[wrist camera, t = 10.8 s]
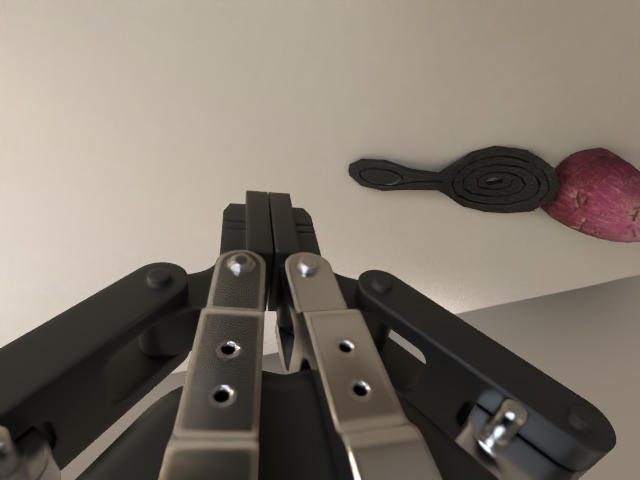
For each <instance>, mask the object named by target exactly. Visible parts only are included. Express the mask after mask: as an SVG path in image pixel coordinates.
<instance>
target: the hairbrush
mask: <svg viewBox="0 0 640 480" xmlns="http://www.w3.org/2000/svg"><path fill="white" fill-rule="evenodd" d="M530 162H531V163H534V164H536V165H537V166H538V167H540V168H541V170H542V171H543V172H542V171H541V170H539V169H538V168H537V167H535V166H534V165H533V164H531V163H530ZM520 166H522V167H524V168H526V169H528V170H530V171H531V172H532V173H533V174H534V175H535V177H536V178H535V177H534V176H533V175H532V174H531V173H530V172H528V171H527V170H526V169H524V168H522V167H520ZM359 171H360V174H361V175H359ZM555 172H556V171H555V170H554V168H553V167H552V166H550V165H549V164H548V163H546V162H545V161H544V160H543V159H541V158H540V157H538V156H536V155H534V154H532V153H531V152H529V151H527V150H522V149H516V148H507V147H499V146H493V147H489V148H485V149H481V150H477V151H474V152H471V153H470V154H468V155H466V156H465V157H463V158H461V159H460V160H458V161H457V162H455V163H453V164H452V165H450V166H448V167H447V168H445V169H443V170H442V171H440V172H439V173H438V172H430V171H423V170H416V169H410V168H407V167H404V166H401V165H399V164H396V163H393V162H390V161H387V160H375V159H361V160H358V161H356V162H354V163H352V164H350V166H349V173H350V174H349V175H350V176H351V177H352V178H353V179H354V180H356V181H357V182H358V183H359V184H360V185H361V186H365V187H369V188H373V189H377V190H381V191H390V190H438V191H440V192H442V193H444V194H446V195H447V196H449V197H450V198H451V199H453V200H454V201H456V202H457V203H459V204H460V205H462V206H464V207H468V208H472V209H476V210H480V211H484V212H496V213H515V212H529V211H535V210H534V209H536V208H538V207H539V208H541V207H540V206H542V205H544V206H545V204H546V203H548V202H550V201H552V200H553V198H554V197H557V196H555V193H556V191H557V189H558V187H559V182H558V179H557V177H558V176H556V175H557V174H556V173H555ZM513 173H514V174H513ZM543 173H544V174H543ZM400 174H401V175H400ZM515 174H516V175H515ZM517 175H519V176H521V178H522V181H521V179H520V178H519V177H518V176H517ZM544 175H545V176H544ZM492 177H496V178H500V179H499V181H490V182H488V181H487V182H486V181H485V180H487V179H489V178H492ZM545 178H546V179H545ZM536 179H537V180H536ZM489 180H491V179H489ZM546 180H547V181H546ZM537 182H538V183H537ZM477 184H478V185H477ZM560 184H561V182H560ZM463 186H464V187H465V188H466V189H468V190H466V189H463ZM560 187H561V186H560ZM452 188H453V189H454V190H455V192H456V193H457V194H456V193H455V192H454V191H453V190H452ZM559 189H560V188H559ZM553 201H555V200H553ZM548 206H549V205H548ZM548 206H547V207H548Z"/></svg>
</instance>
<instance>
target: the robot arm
mask: <svg viewBox="0 0 640 480" xmlns="http://www.w3.org/2000/svg"><path fill="white" fill-rule="evenodd" d="M267 303H268V311H276V313H277V321H276V327H275V333H276V339H277V344H278V350H279V355H280V361H281V367H282V372H283V374H276V373H272V372H267V371H262V356H263V336H264V311H266V306H267ZM391 329H392V330H393V331H395V332H396V333H398V334H399V335H400V336H402V337H403V338H405V339H406V340H407V341H408V342H410V343H411V344H413V345H414V346H415V347H417V348H418V349H419V350H420V351H421V352H422V353H423V355H424V356H425V359H426V364H424V363H423V362H421V361H420V360H419V359H417V358H416V357H415V356H413V355H412V354H410V353H409V352H408V351H406V350H405V349H404V348H403V347H401V346H400V345H399V344H397V343H396V342H395V341H393V340H392V339H391V338H389V337H388V336H389V333H390V330H391ZM190 351H192V352H191V356H190V361H189V365H188V369H187V374H186V378H185V383H184V386H181V387H179V388H177V389H175V390H173V391H171V392H169V393H168V394H166V395H165V396H163V397H161V398H160V399H159V400H158V401H157V402H155V403H154V404H152V405H151V406H150V407H149V408H148V409H147V410H146V411H145V412H143V414H142V415H140V416H139V418H137V419H136V420H135V421H134V422H133V423H132V424H131V425H130V426H129V427H128V428H127V430H125V431H124V432H123V433H122V434H121V435H120V436H119V437H118V438H117V439H116V440H115V441H114V442H113V443H112V444H111V445H110V446H109V447H108V448H107V449H106V450H105V451H104V452H103V453H102V454H101V455H100V456H99V457H98V458H97V459H96V460H95V461H94V462H93V463H92V464H91V465H90V466H89V467H88V468H87V469H86V470H85V471H84V472H83V473H82V474H81V475H79V476H78V477H77V478H76V479H75V480H578V479H579V478H580V477H581V476H582V475H584V473H586V472H587V471H588V470H589V469H590V468H591V467H592V466H594V465H595V464H596V463H597V462H598V461H599V460H600V459H602V458H603V457H604V456H605V455H606V454H607V453H608V452H609V451H611V450H612V449H613V448H614V446H615V444H616V435H615V432H614V429H613V427H612V425H611V424H610V422H609V421H608V419H607V418H606V417H605V416H604V415H603V413H602V412H600V410H598V409H597V408H596V407H595V406H593V405H592V404H591V403H590V402H588V401H587V400H585V399H584V398H582V397H580V396H579V395H577V394H576V393H574V392H573V391H571V390H570V389H568V388H567V387H565V386H563V385H562V384H560V383H559V382H557V381H556V380H554V379H553V378H551V377H550V376H548V375H546V374H545V373H543V372H542V371H540V370H539V369H537V368H536V367H534V366H533V365H531V364H530V363H528V362H526V361H525V360H523V359H522V358H520V357H519V356H517V355H516V354H514V353H513V352H511V351H509V350H508V349H506V348H505V347H503V346H502V345H500V344H499V343H497V342H496V341H494V340H492V339H491V338H489V337H488V336H486V335H485V334H483V333H482V332H480V331H478V330H477V329H476V328H474V327H472V326H471V325H469V324H468V323H466V322H464V321H463V320H462V319H460V318H459V317H457V316H455V315H454V314H452V313H451V312H449V311H448V310H446V309H445V308H443V307H442V306H440V305H438V304H437V303H435V302H434V301H432V300H431V299H429V298H428V297H426V296H425V295H423V294H421V293H420V292H418V291H417V290H415V289H414V288H412V287H411V286H409V285H408V284H406V283H404V282H403V281H401V280H400V279H398V278H397V277H395V276H394V275H392V274H390V273H387V272H384V271H380V270H369V271H366V272H364V273H362V274H361V275H360V276H359V279H358V280H355V279H352V278H348V277H344V276H341V275H338V274H336V273H334V272H333V270H332V268H331V265H330V264H329V262H328V261H327V260H326V259H324V258H323V257H321V254H320V250H319V246H318V242H317V238H316V234H315V230H314V227H313V223H312V219H311V216H310V215H309V214H308V213H307V212H306V211H305V210H304V209H303V208H293V207H292V204H291V199H290V194H287V193H274V192H269V193H267V192H260V191H246V203H245V204H232V203H230V205H229V206H228V207H227V208H226V209H225V210H224V212H223V224H222V236H221V248H220V256H219V257H218V259H217V261H216V264H215V265H214V266H212V267H211V268H209V269H207V270H205V271H202V272H198V273H193V274H188V275H187V273H186V271H185V270H184V269H183V268H182V267H180V266H178V265H176V264H172V263H165V262H160V263H152V264H148V265H146V266H143V267H141V268H139V269H138V270H136V271H134V272H132V273H131V274H129V275H127V276H125V277H124V278H122V279H120V280H118V281H117V282H115V283H113V284H112V285H110V286H108V287H106V288H105V289H103V290H101V291H99V292H98V293H96V294H94V295H92V296H91V297H89V298H87V299H85V300H84V301H82V302H80V303H79V304H77V305H75V306H73V307H72V308H70V309H68V310H66V311H65V312H63V313H61V314H59V315H58V316H56V317H54V318H52V319H51V320H49V321H47V322H46V323H44V324H42V325H40V326H39V327H37V328H35V329H33V330H32V331H30V332H28V333H26V334H25V335H23V336H21V337H19V338H18V339H16V340H14V341H13V342H11V343H9V344H7V345H6V346H4V347H2V348H0V480H61V473H60V471H61V470H62V469H63V468H64V467H66V466H67V465H68V464H69V463H70V462H71V461H72V460H73V459H75V458H76V457H77V456H78V455H79V454H80V453H81V452H82V451H84V450H85V449H86V448H87V447H88V446H89V445H90V444H91V443H93V442H94V441H95V440H96V439H97V438H98V437H99V436H100V435H101V434H102V433H104V432H105V431H106V430H107V429H108V428H109V427H110V426H112V425H113V424H114V423H115V422H116V421H117V420H118V419H120V418H121V417H122V416H123V415H124V414H125V413H126V412H127V411H128V410H130V409H131V408H132V407H133V406H134V405H135V404H136V403H137V402H138V401H140V400H141V399H142V398H143V397H144V396H145V395H146V394H148V393H149V392H150V391H151V390H152V389H153V388H154V387H155V386H157V385H158V384H159V383H160V382H161V381H162V380H163V379H164V378H166V377H167V376H168V375H169V374H170V373H171V372H172V371H173V370H175V369H176V368H177V367H178V366H179V365H180V364H181V363H182V362H183V361H184V360H185V359H186V358H187V357H188V355H189V352H190Z"/></svg>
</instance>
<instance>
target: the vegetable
mask: <svg viewBox="0 0 640 480" xmlns="http://www.w3.org/2000/svg"><path fill="white" fill-rule="evenodd" d="M555 171H556V172H555V173H556V174H557V175H556V176H558V177H557V179H558V182H559V187H558V189H557V191H556V193H555V196H557V197H554V198H553V200H555V201H553V200H552V201H550V202H548V203H546V204H545V206H544V205H542V206H541V208H542V209H543V210H544V211H546V212H547V213H548V214H549V215H550V216H551V217H553V218H554V219H556V220H557V221H559V222H561V223H562V224H564V225H566V226H568V227H570V228H572V229H575V230H577V231H579V232H581V233H584V234H587V235H590V236H593V237H596V238H599V239H603V240H609V241H614V242H626V243H629V242H640V171H638V170H637V169H636V168H635V167H634V166H632V165H631V164H630V163H628V162H626V161H625V160H623V159H622V158H620V157H619V156H617V155H615V154H614V153H612V152H610V151H608V150H606V149H603V148H596V149H589V150H585V151H580V152H577V153H575V154H573V155H571V156H570V157H569V158H567V159H566V160H565V161H563V162H562V163H561V164H560V165H559V166H558V167H557V168H556V169H555ZM560 182H561V184H560ZM560 186H561V187H560ZM559 188H560V189H559ZM548 205H549V206H548ZM547 206H548V207H547Z"/></svg>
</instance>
